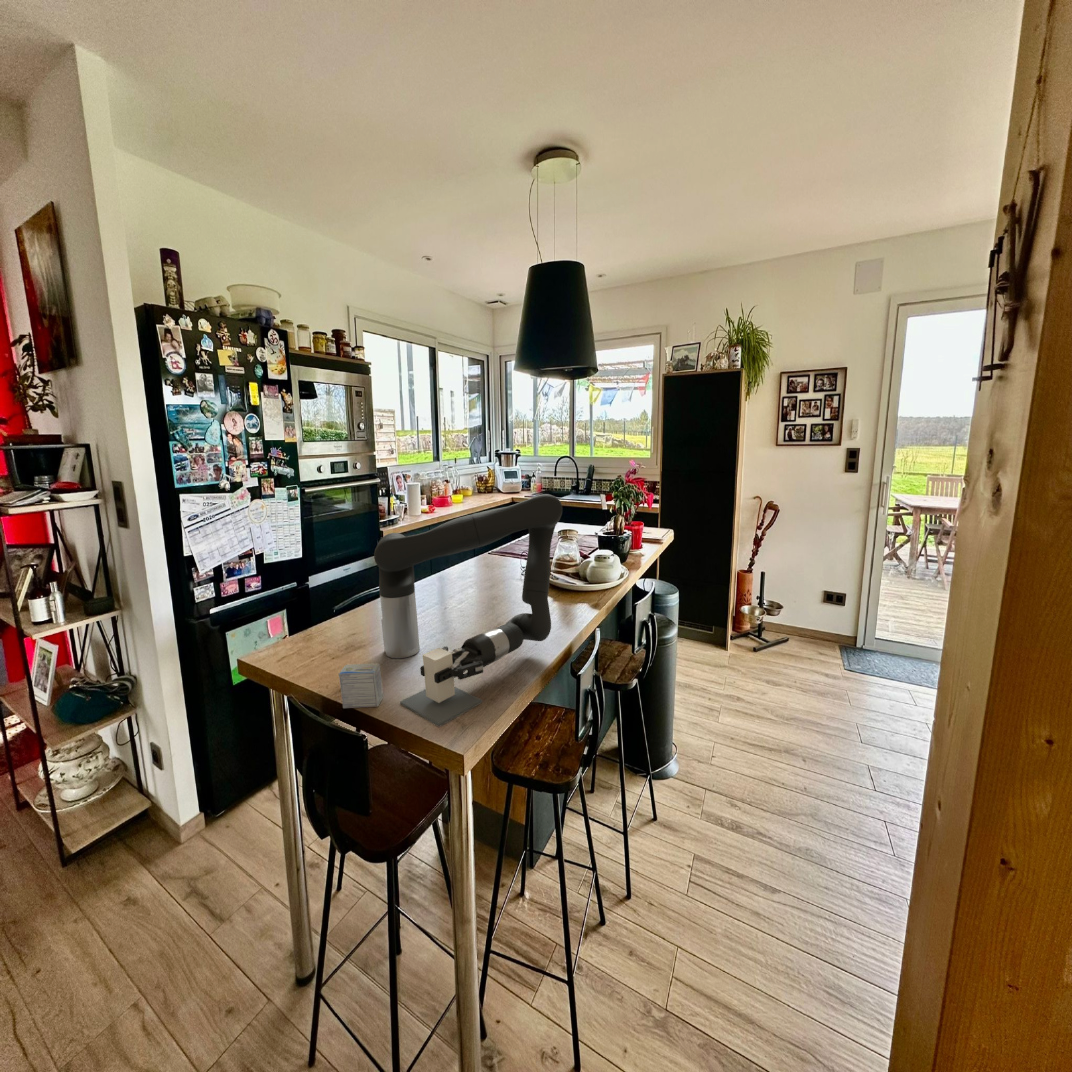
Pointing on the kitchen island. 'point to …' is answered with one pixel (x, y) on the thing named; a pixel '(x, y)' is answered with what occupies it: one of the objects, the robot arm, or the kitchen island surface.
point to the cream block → (432, 665)
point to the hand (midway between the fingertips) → (428, 675)
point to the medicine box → (361, 685)
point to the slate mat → (441, 706)
